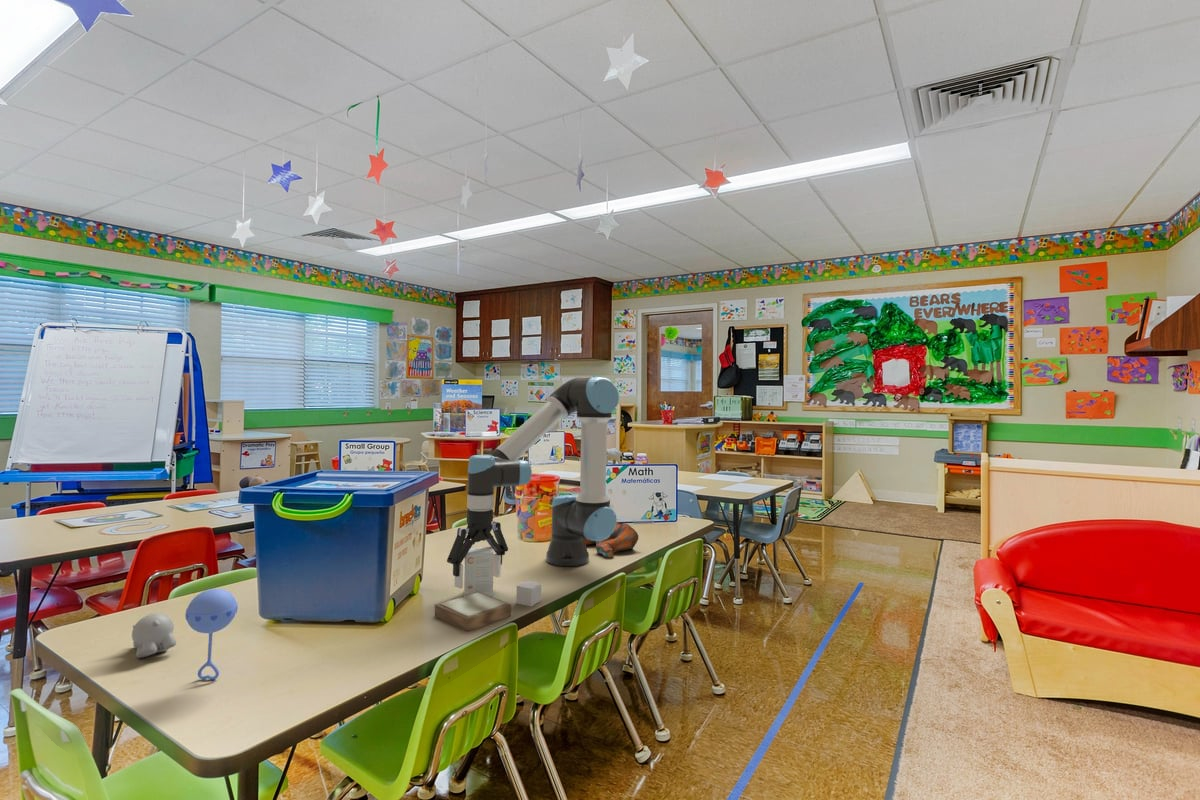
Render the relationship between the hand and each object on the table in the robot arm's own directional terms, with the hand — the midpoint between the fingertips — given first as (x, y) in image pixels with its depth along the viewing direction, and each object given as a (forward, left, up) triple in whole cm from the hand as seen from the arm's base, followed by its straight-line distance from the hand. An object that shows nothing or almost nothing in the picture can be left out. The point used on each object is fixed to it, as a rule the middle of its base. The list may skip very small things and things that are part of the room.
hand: (477, 581), depth 166 cm
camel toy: (-65, -7, -4) cm, 65 cm away
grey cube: (-6, +15, -4) cm, 17 cm away
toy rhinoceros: (+72, -22, -4) cm, 75 cm away
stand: (+11, +12, -4) cm, 17 cm away
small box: (0, 0, -4) cm, 4 cm away
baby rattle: (+67, +1, -4) cm, 67 cm away
